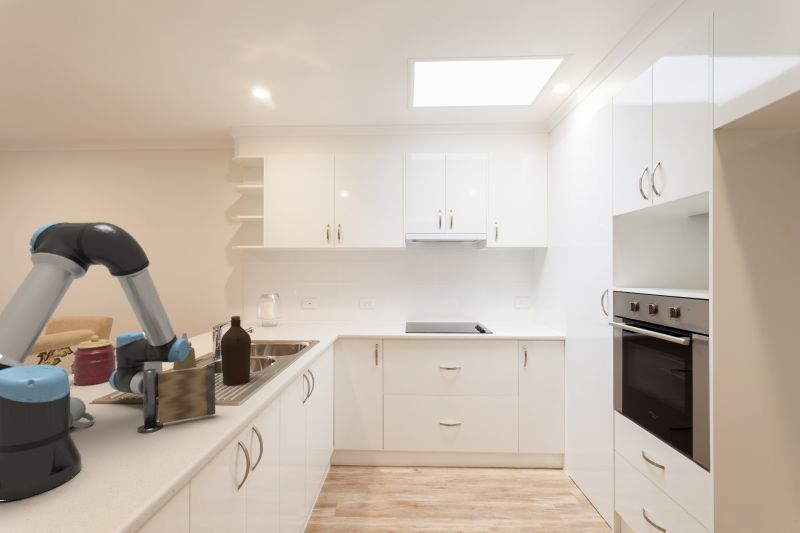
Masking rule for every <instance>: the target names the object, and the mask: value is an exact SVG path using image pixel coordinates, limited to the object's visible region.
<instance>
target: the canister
mask: <svg viewBox="0 0 800 533" xmlns="http://www.w3.org/2000/svg"><path fill="white" fill-rule="evenodd" d="M113 344H114V341H112V340H110V339H106V338H101V339H100V337H99V336H98V335H95V334H94V335H92V336H91V337H90V339H89V340H86V341H84V340H83V341H81V342H79V344H77V345H76V346H75V348H76V350H75V351H73V352H72V355H73V356H74V360H73V361H72V363H73V382H74V385H75V386H76V385H77V386H91V385H92V386H93V385H99V384H103V383H107V382H109V379H110V377H111V375H112V373H113V372H114V371H115V370H116V368H117V364H116V353H115V351H116V346H114V345H113Z"/></svg>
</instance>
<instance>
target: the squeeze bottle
mask: <svg viewBox="0 0 800 533" xmlns="http://www.w3.org/2000/svg"><path fill="white" fill-rule="evenodd" d="M181 339H185V340H186V341H188V343H189V347H190V349H189V354H188V356H187V357H186V359H185V360H183V361H181V362H173V368H172V371H173V370H181V369H188V368H196V367H197V361H196V354H195V348H194V347H192V342H191V341H189V339H188V335H187V332H186V333H182V335H181Z"/></svg>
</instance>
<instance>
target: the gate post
mask: <svg viewBox="0 0 800 533" xmlns="http://www.w3.org/2000/svg"><path fill="white" fill-rule="evenodd" d="M142 397H143V398H142V399H143V424H142V425H140V426H139V427H138V428H136V429H137V433H139V434H149V433H153V432H157V431H159V430H161V429H163V428H164V423H163V424H159V421H158V408H157V406H158V405H157V403H158V401H157V400H158V399H157V398H158V397H157V395H156V369H148V370H144V371H143V395H142Z"/></svg>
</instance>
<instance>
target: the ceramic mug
mask: <svg viewBox="0 0 800 533" xmlns="http://www.w3.org/2000/svg"><path fill="white" fill-rule="evenodd" d="M86 411H87V407H86V404H85V403H84V401H83V400H82V399H81V398H78V397H77V396H70V428H72V427H74V428H79V429H80V428H81V429H82V428H88V427H91V426H92V425H93V423H94V422H95V420H96V417H95V416H94V415H93V414H91V413H89V412H86ZM82 418H83V419H86V420H88V421H86V422H84V421H80V420H81V419H82Z"/></svg>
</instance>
